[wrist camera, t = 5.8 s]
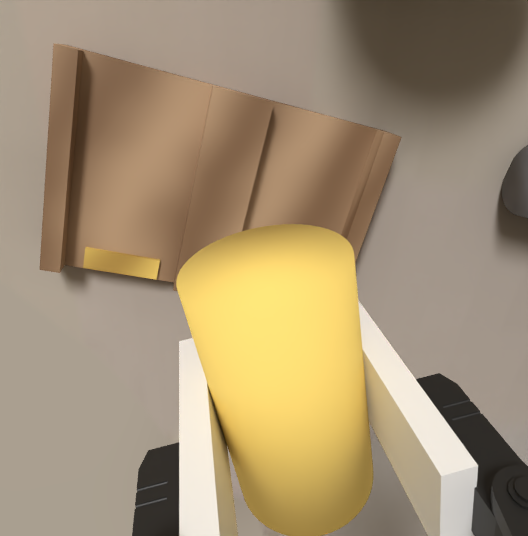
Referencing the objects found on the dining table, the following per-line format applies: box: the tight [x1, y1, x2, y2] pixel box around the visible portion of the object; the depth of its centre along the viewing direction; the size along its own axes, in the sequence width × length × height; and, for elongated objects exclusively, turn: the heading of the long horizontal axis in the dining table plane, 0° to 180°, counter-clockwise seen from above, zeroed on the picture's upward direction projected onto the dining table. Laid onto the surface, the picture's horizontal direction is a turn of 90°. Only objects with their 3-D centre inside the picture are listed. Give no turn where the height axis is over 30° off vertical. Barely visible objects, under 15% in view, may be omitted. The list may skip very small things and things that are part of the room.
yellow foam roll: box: [176, 224, 373, 536], centre depth 13 cm, size 8×4×4 cm, turn 11°
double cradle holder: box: [40, 44, 401, 291], centre depth 24 cm, size 17×11×2 cm, turn 76°
